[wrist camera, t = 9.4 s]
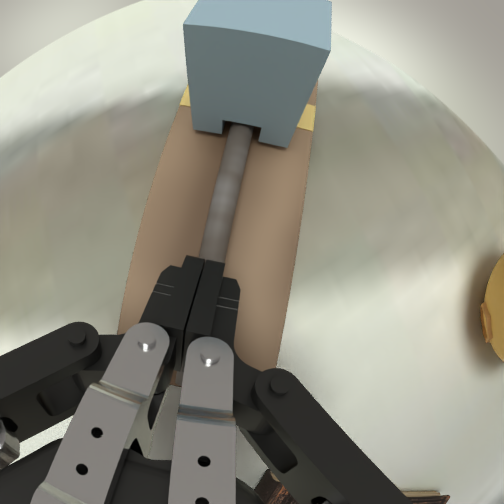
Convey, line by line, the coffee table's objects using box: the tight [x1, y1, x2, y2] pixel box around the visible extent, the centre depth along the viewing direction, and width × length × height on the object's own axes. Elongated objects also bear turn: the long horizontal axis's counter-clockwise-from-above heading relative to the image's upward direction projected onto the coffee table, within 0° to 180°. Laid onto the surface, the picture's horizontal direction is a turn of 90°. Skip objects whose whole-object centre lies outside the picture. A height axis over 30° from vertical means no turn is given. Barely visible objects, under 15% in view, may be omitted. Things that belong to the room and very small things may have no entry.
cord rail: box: [117, 80, 318, 387], centre depth 14 cm, size 8×21×5 cm, turn 169°
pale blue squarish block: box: [183, 0, 332, 148], centre depth 12 cm, size 5×4×7 cm
